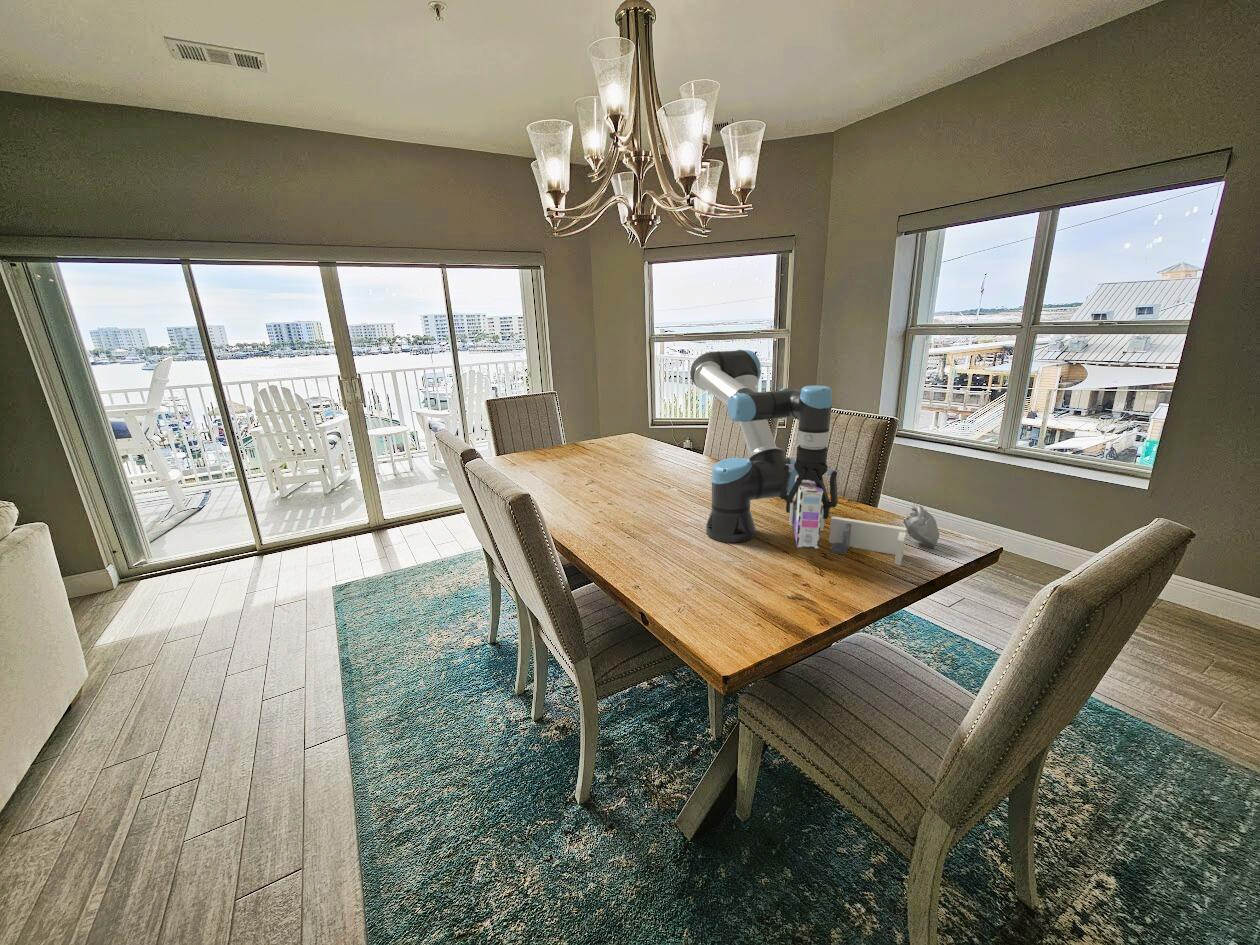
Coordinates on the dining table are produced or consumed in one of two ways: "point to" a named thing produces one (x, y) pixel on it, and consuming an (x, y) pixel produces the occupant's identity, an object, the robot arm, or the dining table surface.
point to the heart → (922, 526)
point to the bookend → (843, 546)
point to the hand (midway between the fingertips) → (806, 526)
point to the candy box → (807, 514)
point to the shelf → (870, 536)
